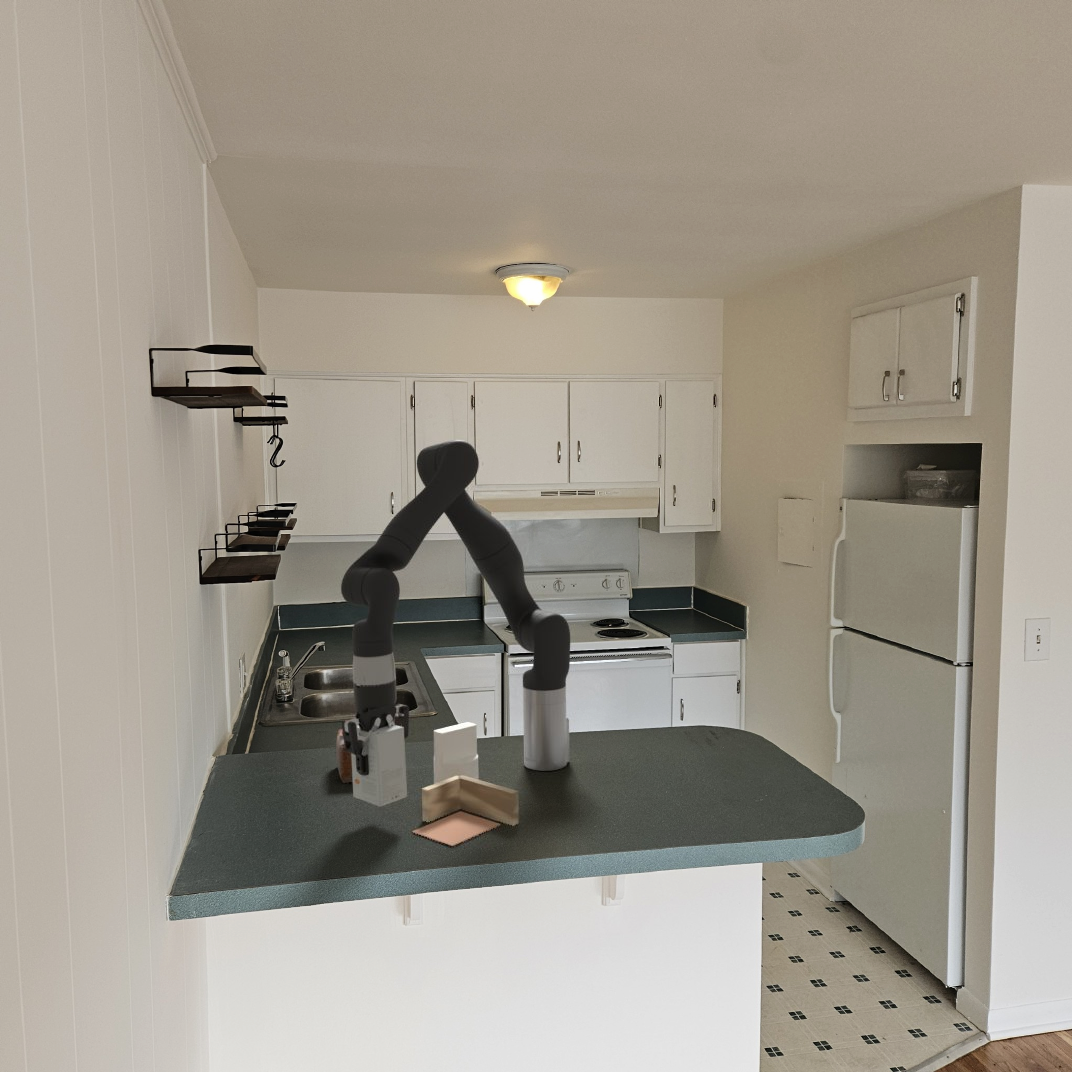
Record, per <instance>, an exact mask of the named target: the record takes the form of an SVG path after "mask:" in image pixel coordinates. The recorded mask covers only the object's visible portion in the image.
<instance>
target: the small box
mask: <svg viewBox="0 0 1072 1072" xmlns="http://www.w3.org/2000/svg"><path fill="white" fill-rule="evenodd" d="M357 728H359V725H358V726H357ZM358 731H359V733H360V735H361V736H364V737H367V736H368V735H369V736H370V741H369V743H368V752H367V755H368V762H369V774H368V775H366V776H363V775H360V774H359V773H358V772H357V770H356V756H355V755H354V754H351V757H352V778H353V782H352V793H353V795H352V796H353V798H356V799H358V800H361V801H364V802H366V803H369V804H372V805H375V806H377V807H379V808H380V807H383V806H387V805H389V804H392V803H394V802H397V801H400V800H402V799H405V798H407V797H408V787H407V786H408V785H407V781H408V780H407V767H406V763H407V762H406V746H405V745H406V743H405V738H404V727H402V725H401V726H397V725H394V726H390V727H389V726H386V727H382V728H379V729H377V731H375V732H372V733H369V732H366V731H362V730H358ZM363 742H364V741H362V742H361V744H362V746H363ZM361 748H362V747H361Z"/></svg>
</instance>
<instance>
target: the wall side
mask: <svg viewBox="0 0 1072 1072" xmlns="http://www.w3.org/2000/svg"><path fill="white" fill-rule="evenodd" d="M458 777H459V776H454V777H451V778H449V779H446V780H443V781H441V782H438V783H435V784H434V783H433V784H431V785H428V786H425V787H422V788H421V809H422V810H421V811H422V816H421V817H422V821H423V822H425V821H426V822H425V823H428V822H429V823H431V822H434V821H436V820H437V818H438V819H440V817H441V818H442V817H443V818H444V817H445V816H447V814H448V815H450V814H452V813H451V812H453V813H455V812H458V811H460V810H461V809H460V778H458ZM459 809H460V810H459ZM454 811H455V812H454ZM449 813H450V814H449ZM444 815H445V816H444ZM435 819H436V820H435ZM430 821H431V822H430Z"/></svg>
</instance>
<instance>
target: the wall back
mask: <svg viewBox="0 0 1072 1072" xmlns="http://www.w3.org/2000/svg"><path fill="white" fill-rule="evenodd" d="M458 778H460V810H461V809H462V810H461V811H464V810H465V811H464V812H467V811H469V812H468V813H471V812H472V813H471V814H474V813H475V814H474V815H477V814H478V815H477V816H480V815H481V817H482V818H486V817H487V818H486V819H489V818H491V819H490V820H493V821H496V822H499V821H500V822H499V823H502V822H503V824H505V823H506V824H505V825H508V824H509V825H510V826H511V825H512V827H514V826H516V824H517V825H518V824H519V817H520V816H519V815H520V814H519V791H518V790H516V789H512V788H508V787H507V786H506V787H505V786H502V785H498V784H495V783H491V782H487V781H484V780H481V779H479V780H478V779H474V778H471V777H467V776H463V775H462V776H459V777H458Z"/></svg>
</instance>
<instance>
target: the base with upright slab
mask: <svg viewBox="0 0 1072 1072" xmlns="http://www.w3.org/2000/svg"><path fill="white" fill-rule="evenodd" d="M477 726H478V725H477V724H476V723H474V722H470V721H466V722H462V723H458V724H455V725H450V726H446V727H442V728H438V729H434V730H433V751H434V753H433V754H434V755H433V784H435V783H438V782H441V781H443V780H446V779H449V778H451V777H454V776H462V775H463V776H467V777H471V778H474V779H478V780H480V778H479V776H480V775H479V754H478V744H477V743H478V740H477V738H478V737H477V735H478V734H477V730H478V729H477Z"/></svg>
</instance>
